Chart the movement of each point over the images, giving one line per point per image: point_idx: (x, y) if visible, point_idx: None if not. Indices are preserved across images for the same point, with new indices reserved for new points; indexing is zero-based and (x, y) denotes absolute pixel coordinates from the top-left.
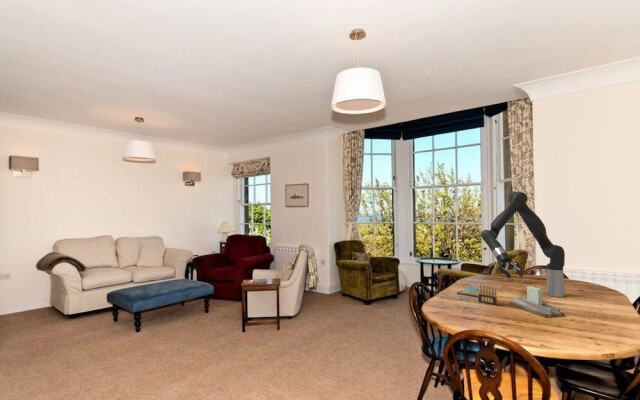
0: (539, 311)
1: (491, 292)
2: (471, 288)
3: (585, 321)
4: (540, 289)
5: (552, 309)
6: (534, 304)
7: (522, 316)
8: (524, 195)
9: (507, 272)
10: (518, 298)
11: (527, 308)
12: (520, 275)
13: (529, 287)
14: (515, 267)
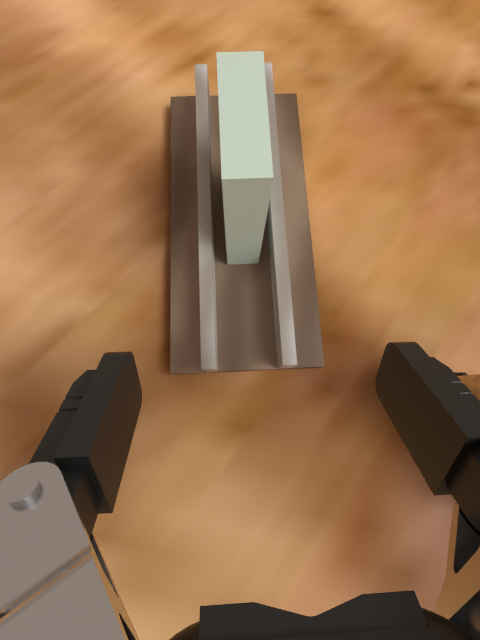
0: (279, 147)
1: None
2: None
3: (152, 34)
4: (234, 53)
5: (209, 118)
6: (279, 165)
7: (396, 148)
8: None
9: (473, 414)
10: (284, 311)
11: (304, 210)
12: (132, 399)
13: (269, 145)
14: (107, 590)
